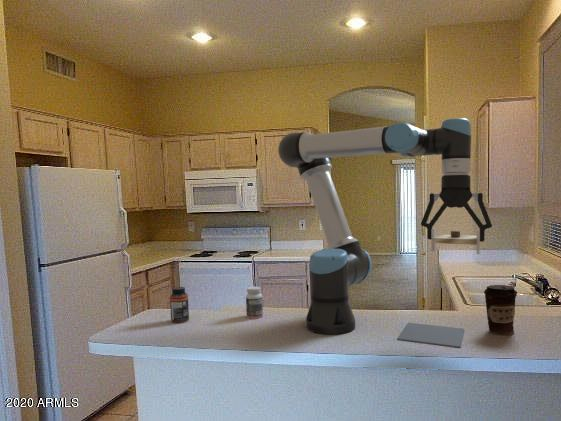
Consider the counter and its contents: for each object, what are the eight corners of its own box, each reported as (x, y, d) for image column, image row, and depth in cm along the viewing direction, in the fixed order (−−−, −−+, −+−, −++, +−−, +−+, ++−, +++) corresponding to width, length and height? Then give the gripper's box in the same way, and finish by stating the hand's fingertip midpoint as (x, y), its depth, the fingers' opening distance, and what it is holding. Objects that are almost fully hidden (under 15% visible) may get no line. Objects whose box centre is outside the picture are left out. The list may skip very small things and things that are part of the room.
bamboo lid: (432, 243, 111) (432, 232, 111) (436, 239, 121) (436, 229, 121) (476, 244, 106) (476, 233, 106) (477, 240, 116) (477, 230, 116)
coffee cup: (523, 337, 109) (522, 290, 108) (490, 336, 110) (489, 289, 110) (511, 327, 117) (510, 283, 117) (481, 327, 119) (480, 283, 119)
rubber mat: (397, 339, 111) (397, 338, 110) (407, 323, 125) (407, 322, 125) (460, 347, 103) (460, 346, 103) (464, 329, 117) (464, 328, 117)
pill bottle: (248, 314, 141) (247, 286, 141) (264, 314, 140) (263, 286, 140) (245, 319, 135) (244, 289, 135) (261, 318, 135) (260, 289, 135)
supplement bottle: (175, 318, 139) (174, 285, 139) (192, 318, 138) (190, 285, 138) (167, 323, 133) (166, 289, 133) (184, 323, 132) (183, 289, 132)
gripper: (410, 175, 115) (410, 251, 116) (504, 172, 105) (502, 256, 105) (414, 176, 122) (413, 248, 123) (502, 174, 111) (501, 252, 112)
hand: (455, 252), depth 114 cm, fingers closed on bamboo lid, 11 cm apart
